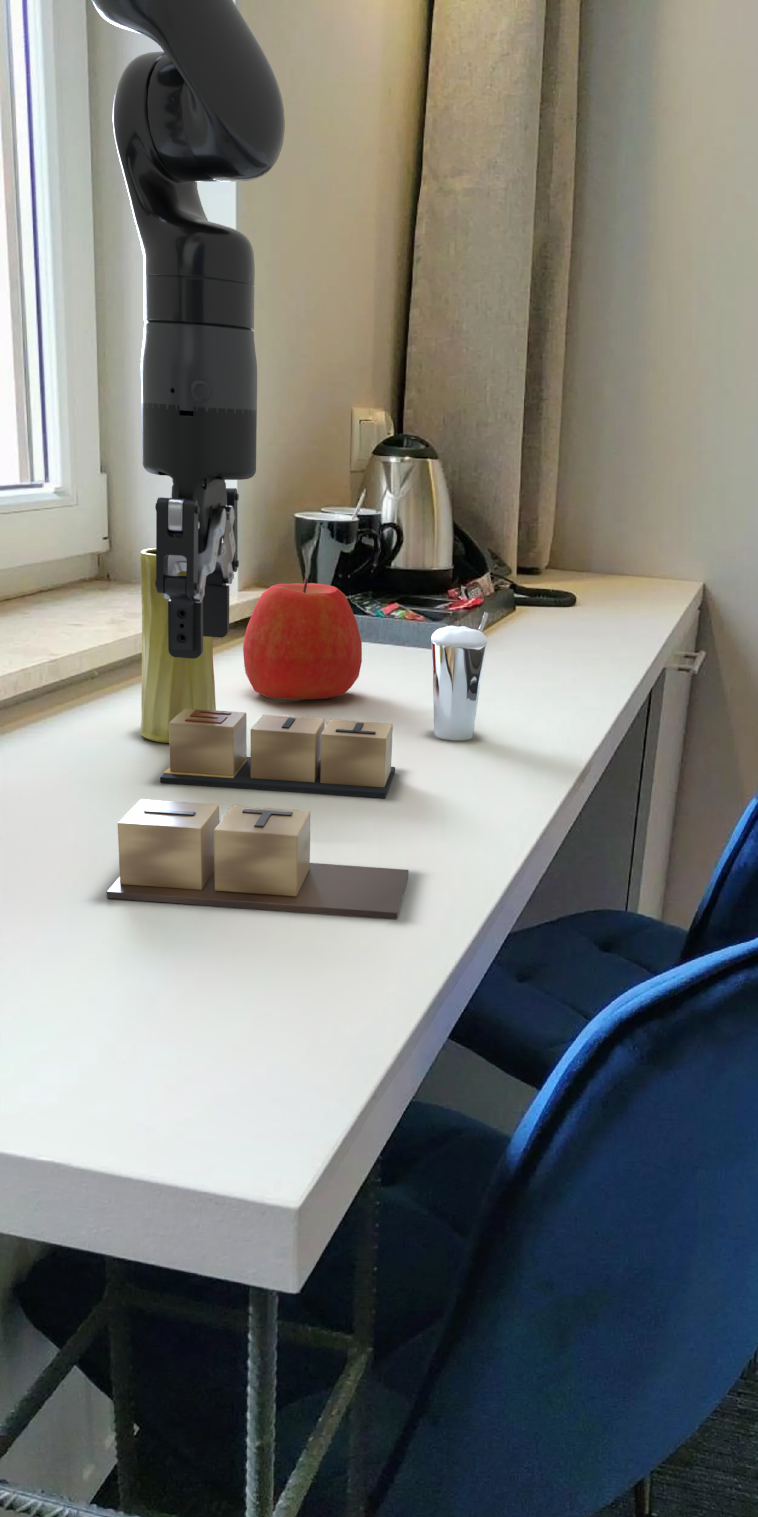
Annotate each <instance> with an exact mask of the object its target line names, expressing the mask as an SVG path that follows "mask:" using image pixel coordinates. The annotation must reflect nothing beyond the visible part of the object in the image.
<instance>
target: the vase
mask: <svg viewBox="0 0 758 1517" xmlns="http://www.w3.org/2000/svg"><path fill="white" fill-rule="evenodd" d="M178 576H186V572H184V571H182V572H179V573H178ZM140 579H141V580H140V583H141V584H140V586H141V587H140V588H141V590H140V591H141V592H140V593H141V721H140V729H139V730H140V731H139V733H140V735H141V736H142V737H143V738H145V739H147V740H148V741H152V742H157V743H163V744H169V722H171V721H172V720H173V719H174V718H175V717H176V716H177V715H178V714H179V713H181V712H182V711H183V710H184V709H185V708H187V709H202V710H217V708H216V707H217V704H216V703H217V702H216V684H215V670H214V668H215V667H214V653H213V652H214V651H213V650H214V649H213V648H214V647H213V646H214V645H213V637H207V636H203V653H202V654H201V655H200V656H199V657H198V658H195V659H192V658H179V657H173V656H171V655H170V653H169V651H168V601H169V600H170V599H165V598H164V594H163V593H158V592H157V589H156V586H155V581H156V547H155V548H153V547H151V548H146V549H142V550H141V551H140ZM196 602H197V601H196Z"/></svg>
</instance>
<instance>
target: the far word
mask: <svg viewBox="0 0 758 1517" xmlns="http://www.w3.org/2000/svg"><path fill="white" fill-rule="evenodd" d="M393 729H394V724H393V722H378V721H365V720H364V721H363V720H362V721H361V720H347V719H335V718H334V719H333V718H330V720H329V721H328V723H327V724H326V719H325V718H317V717H303V716H302V717H301V716H289V715H274V714H273V715H272V714H262V715H261V717H260V718H258V721H256V723H254V725H253V726H252V727H251V728H250V756H247V759H246V761H245V762H244V763H243V764H242V766H241V767H240V768H239V769H238V771H237V772H236V773H235V774H234V776H227V775H212V774H198V773H184V772H171V771H170V766H169V767H168V768H166V770H164V771H163V774H161V776H160V777H159V783H161V784H162V783H163V784H176V785H178V784H179V785H190V786H193V785H194V786H204V787H206V786H207V787H220V788H232V789H233V788H234V789H235V788H236V789H248V790H262V791H263V790H264V791H278V792H279V791H280V792H292V793H304V794H305V793H306V794H319V795H335V796H350V797H364V798H376V799H377V798H379V799H386V797H387V794H388V792H389V789H390V787H391V784H392V781H393V779H394V775H395V773H396V767H395V766H392V756H393V754H392V753H393V752H392V751H393V731H394V730H393Z"/></svg>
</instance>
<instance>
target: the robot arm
mask: <svg viewBox="0 0 758 1517" xmlns="http://www.w3.org/2000/svg"><path fill="white" fill-rule="evenodd" d="M91 2H92V4H93V5H94V7H95V9H96V11H97V12H98V14H99V15H100V16H101V17H102V18H103V20H105V21H106V22H108V23H109V24H110V25H111V24H112V25H114V26H115V27H119V28H121V29H123V30H127V31H130V32H134V33H137V34H141V35H143V36H145V37H148V38H149V39H151V40H152V41H153V42H155V43H156V44H157V45H158V46H159V47H160V48H161V50H162V51H151V52H146V53H142V54H140V55H138V56H136V57H135V58H134V59H132V60H131V61H130V62H129V63H128V64H127V65H126V67H125V68H124V70H123V72H122V73H121V76H120V78H119V80H118V82H117V86H116V90H115V93H114V98H113V106H112V126H113V135H114V141H115V145H116V149H117V150H116V151H117V154H118V158H119V163H120V166H121V170H122V174H123V177H124V181H125V186H126V189H127V193H128V197H129V201H130V206H131V210H132V214H133V219H134V223H135V225H136V230H137V233H138V238H139V241H140V246H141V251H142V255H143V321H144V324H143V339H142V348H141V357H140V361H141V362H140V380H141V382H140V383H141V389H140V390H141V444H142V445H141V446H142V447H141V448H142V449H141V450H142V452H141V453H142V454H141V455H142V456H141V457H142V466H143V468H144V470H145V471H146V472H148V473H149V474H152V475H155V476H167V477H170V478H171V479H172V486H171V493H170V494H171V495H170V496H171V497H161V496H159V497H157V499H156V503H155V506H154V507H155V513H156V514H155V515H156V517H155V518H156V519H155V522H156V524H155V525H156V527H155V534H156V535H155V536H156V537H155V539H156V541H155V544H156V545H155V548H156V581H155V586H156V589H157V592H158V593H163V594H164V598H165V599H170V600H169V601H168V651H169V653H170V655H171V656H173V657H179V658H192V659H195V658H198V657H199V656H200V655H201V654H202V653H203V636H207V637H212V638H220V639H221V638H224V637H226V636H227V635H228V634H229V632H230V585H231V584H232V583H233V580H234V579H235V573H237V571H238V568H239V566H240V560H239V542H238V541H239V527H238V526H239V522H238V519H239V517H238V516H239V515H238V513H239V512H238V509H239V508H238V507H239V506H238V505H239V504H238V501H239V499H240V497H239V496H240V494H239V492H238V489H237V488H236V487H227V483H226V481H238V480H239V481H242V480H243V481H244V480H250V479H251V478H253V477H254V476H255V475H256V472H257V430H258V429H257V427H258V363H257V352H256V345H255V343H256V342H255V332H254V331H253V330H255V255H254V254H255V253H254V249H253V246H252V244H251V241H250V239H249V238H248V236H246V235H245V234H244V233H242V232H241V231H239V230H237V229H235V228H232V227H230V226H226V225H223V224H220V223H216V222H212V221H209V220H208V217H207V215H206V213H205V211H204V207H203V204H202V201H201V198H200V195H199V190H198V189H199V188H198V183H201V182H202V183H206V182H209V183H210V182H213V183H214V182H221V183H222V182H223V183H224V182H230V183H231V182H233V183H234V182H235V183H237V182H248V181H253V180H257V179H259V178H262V177H263V176H265V175H266V174H267V173H269V172H270V170H272V169H273V167H274V166H275V165H276V163H277V161H278V159H279V157H280V154H281V151H282V149H283V145H284V139H285V129H286V125H285V124H286V119H285V109H284V108H285V107H284V103H283V98H282V93H281V90H280V86H279V84H278V80H277V78H276V75H275V72H274V70H273V67H272V65H271V64H270V61H269V60H268V57H267V56H266V54H265V52H264V51H263V48H262V46H261V45H260V43H259V42H258V39H257V38H256V36H255V35H254V33H253V32H252V30H251V28H250V27H249V25H248V23H247V21H246V19H244V17H243V15H242V13H241V11H240V10H239V8H238V6H237V5H236V3H235V1H234V0H91ZM182 571H184V572H186V576H178V573H179V572H182ZM196 601H197V602H196Z"/></svg>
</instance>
